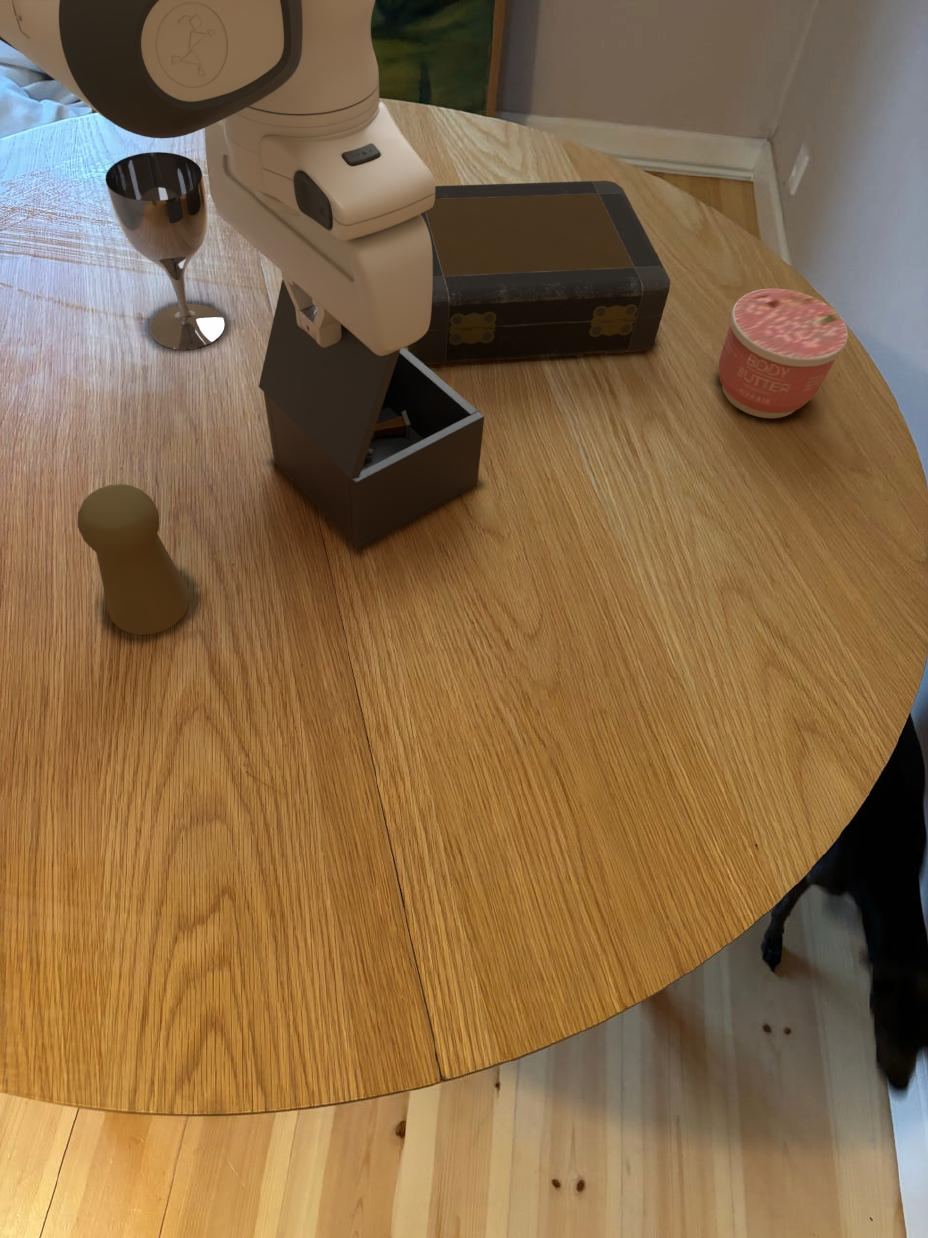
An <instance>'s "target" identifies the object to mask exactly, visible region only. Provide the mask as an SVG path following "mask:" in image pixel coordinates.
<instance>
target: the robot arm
mask: <svg viewBox="0 0 928 1238" xmlns="http://www.w3.org/2000/svg"><path fill="white" fill-rule="evenodd" d="M375 4H376V0H0V42H2V43H4V44H6V45H7V46H9V47H11V48H13V49H14V50H16V52H17V51H18V52H19V53H21V55H23V56H24V57H25V58H27V59H28V60H29V61H30V62H32V63H33V64H34V65H35V66H37V67H38V68H39V69H41V70H42V71H43V72H44V73H46V74H47V75H48V76H49V77H51V78H52V79H53V80H55V81H56V82H57V83H58V84H60V85H61V86H62V87H63V88H64V89H66V90H67V91H68V92H70V93H71V94H72V95H73V96H74V97H76V98H77V99H79V100H80V101H81V102H82V103H83V104H85V105H86V106H88V107H89V108H91V110H93V111H94V112H95V113H98V114H99V115H100V116H101V117H102V118H105V119H106V120H108V121H109V122H111V123H112V124H114V125H115V126H117V127H119V128H120V129H122V130H124V131H127V132H130V133H132V134H134V135H138V136H141V137H146V138H151V139H172V138H180V137H185V136H188V135H190V134H193V133H195V132H198V131H201V130H203V129H204V145H205V146H204V147H205V158H206V159H205V160H206V166H207V167H206V168H207V177H208V184H209V185H208V186H209V192H210V196H211V200H212V202H213V204H214V207H215V210H216V211H217V213H218V215H219V217H220V218H221V219H222V220H223V221H224V222H225V223H226V224H227V225H229V226H230V228H233V230H234V231H236V232H237V233H238V234H239V235H240V236H242V237H243V239H244V240H246V241H247V242H248V243H249V244H250V245H252V246H253V247H254V248H255V249H256V250H257V251H258V252H260V254H262V255H263V256H264V257H265V258H266V259H267V260H269V261H270V262H271V263H272V264H273V265H274V266H275V267H276V268H278V269H279V270H280V271H281V272H280V273H281V278H282V279H283V281H284V283H285V285H286V288H287V290H288V292H289V295H290V297H291V299H292V302H293V304H294V306H295V310H296V318H297V324H298V326H299V327H300V328H302V329H303V330H304V331H305V332H306V333H308V334H309V335H310V336H311V337H312V338H313V339H314V340H315V341H316V342H317V343H318V344H319V345H320V346H321V347H324V348H325V347H328V346H330V345H332V344H335V343H337V342H338V341H339V340H340V339H341V336H342V332H341V324H342V325H343V326H344V327H346V328H347V329H348V330H349V331H350V332H351V333H352V334H354V335H355V336H356V337H357V338H358V339H359V340H360V341H361V342H363V343H364V344H365V345H366V346H367V347H368V348H369V349H370V350H371V351H372V352H374V353H375V354H376V355H379V356H385V355H388V354H390V353H393V352H395V351H398V350H400V349H402V348H407V347H408V346H409V345H410V344H412V343H414V342H416V341H418V340H419V339H420V338H422V337H423V336H424V335H425V334H426V332H427V331H428V328H429V325H430V320H431V309H432V290H433V254H432V244H431V238H430V234H429V231H428V228H427V225H426V223H425V221H424V219H423V217H422V216H421V213H423V212H425V211H427V210H429V209H431V208H432V207H433V205H434V202H435V186H436V182H435V178H434V175H433V173H432V171H431V170H430V168H429V167H428V165H427V164H426V163H425V161H424V160H423V159H422V158H421V157H420V155H419V154H418V153H417V152H416V150H415V149H414V148H413V147H412V145H411V144H410V143H409V141H408V139H407V138H406V137H405V135H404V134H403V132H402V131H401V129H400V128H399V126H398V124H397V123H396V121H395V119H394V117H393V115H392V113H391V111H390V109H389V107H388V106H387V105H386V103H384V101H382V100H380V71H379V65H378V60H377V57H376V54H375V50H374V47H373V39H372V16H373V11H374V8H375Z"/></svg>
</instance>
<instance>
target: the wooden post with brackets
mask: <svg viewBox="0 0 928 1238" xmlns="http://www.w3.org/2000/svg"><path fill="white" fill-rule="evenodd" d="M401 415H402V416H401V417H398V418H396V419H393V420H390V421H387V422H383V423H380V424H376V427H375V430H374V433H373V436H372V438H375V436H381V435H396V434H400V435H406V438H407V439H408V438H410V439H411V429H410V422H409V419H408V416H407V414H406V411H403V412H401ZM371 455H373V450H372V449H368V452H367V455H366V458H365V460H368V456H371Z"/></svg>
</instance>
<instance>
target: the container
mask: <svg viewBox="0 0 928 1238" xmlns="http://www.w3.org/2000/svg"><path fill="white" fill-rule="evenodd" d="M729 317H730V318H729V324H730V325H729V327H728V329H727V333H726V336H725V339H724V343H723V346H722V349H721V352H720V356H719V359H718V376H719V379H720V383H721V385H722V386H721V387H722V391H723V394H724V396H725V398H726V400H728V401H729V402H730V404H732V405H733V406H734V407H736V408H737V409H739V410H740V411H742V412H744V413H746V414H748V415H752V416H755V417H757V418H758V417H759V418H764V419H780V418H783V417H786V416H789V415H792V414H793V413H794V412H795V411H797V410H798V409H801V408H802V407H803V406H805V405H806V404H807V403H808V402H809V401H811V400H812V399H813V398H814V397H815V396H816V395H817V393H818V392H819V390H820V388H821V386H822V385H823V383H824V381H825V379H826V377H827V376H828V374H829V372H830V371H831V368H832V367H833V365H834V363H835V361H836V358H838V357H839V356H840V355H841V353H842V352H843V351H844V350H845V347H846V345H847V342H848V339H849V334H848V333H849V331H848V328H847V325H846V323H845V321H844V320H843V318H842V317H841V315H839V313H837V312H836V310H834V308H833V307H831V306H830V305H828V304H827V303H826V302H823V301H822V300H820V299H818V298H816V297H814V296H811V295H809V294H806V293H803V292H800V291H796V290H792V289H785V288H762V289H758V290H753V291H750V292H748V293H745V294H744V295H742V296H741V297H740V298H739V299H738V300H737V301H736V302H735V304H734V305H733V309H732V310H731V313H730V316H729Z"/></svg>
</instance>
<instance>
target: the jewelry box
mask: <svg viewBox="0 0 928 1238" xmlns="http://www.w3.org/2000/svg"><path fill="white" fill-rule="evenodd" d="M421 216H422V217H423V219H424V221H425V223H426V225H427V228H428V231H429V234H430V238H431V244H432V254H433V290H432V309H431V320H430V325H429V328H428V331H427V332H426V334H425V335H424V336H423V337H422V338H420V339H419V340H418V341H416V342H414V343H412V344H410V345H409V346H407V347H408V351H409V352H410V353H412V354H413V355H414V356H415V357H416V358H417V359H419V360H420V361H421V362H422V363H423V364H424V365H440V364H457V363H473V362H490V361H503V360H504V361H505V360H519V359H521V360H523V359H536V358H537V359H538V358H550V357H551V358H552V357H553V358H554V357H567V356H569V357H570V356H585V355H601V354H617V353H632V352H633V353H634V352H644V351H647V350H649V349H651V348H653V347H654V345H655V342H656V338H657V335H658V331H659V329H660V328H659V327H660V324H661V322H662V318H663V314H664V311H665V306H666V304H667V300H668V296H669V294H670V287H671V278H670V277H669V275H668V273H667V271H666V269H665V266H664V265H663V263H662V262H661V259H660V257H659V255H658V253H657V252H656V250H655V248H654V246H653V243H652V242H651V240H650V238H649V236H648V234H647V232H646V230H645V229H644V227H643V225H642V223H641V220H640V219H639V217H638V215H637V213H636V211H635V209H634V208H633V206H632V204H631V201H630V200H629V198H628V196H627V194H626V192H625V191H624V188H623V187H622V186H621V185H619V184H618V183H617V182H615V181H611V180H588V181H587V180H586V181H585V180H584V181H583V180H582V181H580V180H579V181H552V182H551V181H550V182H548V181H547V182H527V183H526V182H523V183H521V182H520V183H491V184H489V183H488V184H460V185H459V184H456V185H435V202H434V205H433V207H432V208H431V209H429V210H427V211H425V212H423V213H421Z"/></svg>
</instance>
